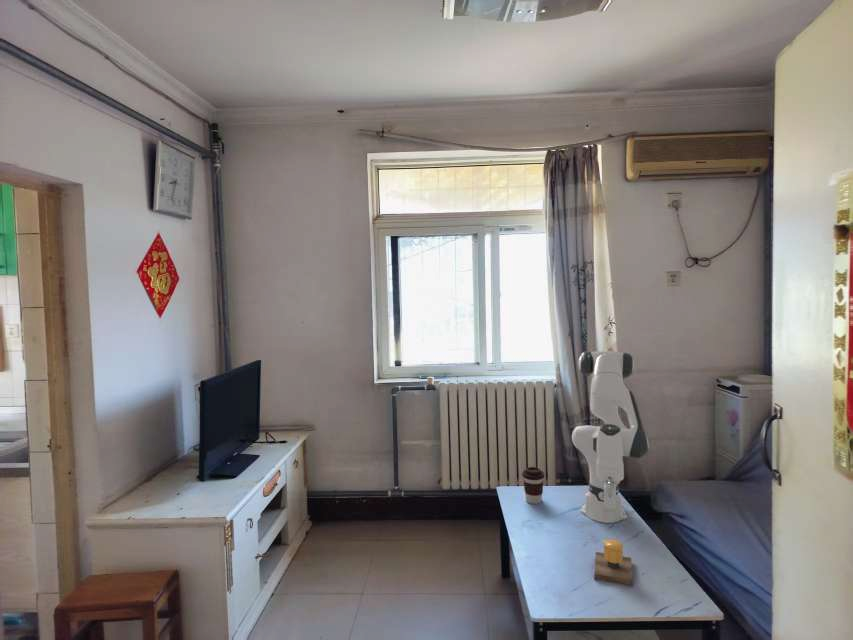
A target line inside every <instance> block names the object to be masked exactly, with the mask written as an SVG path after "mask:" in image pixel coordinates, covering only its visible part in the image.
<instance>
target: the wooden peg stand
mask: <svg viewBox="0 0 853 640" xmlns="http://www.w3.org/2000/svg"><path fill="white" fill-rule="evenodd" d="M594 560H595V561H594V575H593V576H594V577H593V578H594V580H596V581H602V582H607V583H612V584H618V585H624V586H628V587H633V586H634V585H633V580H634V579H633V565H632V563H633V562H632V557H630V556H623V561H622V562H619V563H613V562H609V561H607V560H606V559H604V552H599V551H595V559H594Z"/></svg>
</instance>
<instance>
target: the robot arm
mask: <svg viewBox="0 0 853 640" xmlns="http://www.w3.org/2000/svg"><path fill="white" fill-rule="evenodd" d="M577 362H578V368H579V371H580V373H581V374H582V375H584V376H587V377H590V376H592V378H591V384H590V401H589V402H590V404H589V407H590V408H589V409H590V412H591V414H592V415H593V416H595V417H596V418H598V419H600V420H602V421H603V422H604V424H601V425H600V426H598V425H597V426H596V425H588V424H587V425H580V426H579V425H578V426H575V428H574V429H573V431H572V434H571V441H572V444H573V445H574V447H575V448H576V449H577V450H578V451H579V452H581V454H583V456H584V458H585V459H586V461H587V465H588V469H589V481H588V492H586V493H585V495H584V498H585V499H584V500H585V501H584V504H583V506H582V507H581V509H580V513H581V514H583V515H586V516H587V517H588V518H590V519H592V520H593V521H596V522H600V523H604V524H605V523H607V524H609V523H610V524H611V523H616V522H619V521H621V520H627V519H628V515H627V513H626V511H625V509H624V507H623V499H622V498H621V495H619V490H620V489H619V484H620V482H621V481H623V480H624V478H625V474H624V473H625V472H624V471H625V469H624V467H625V466H624V460H623V457H628V458H634V459H641V458H643V457H644V456H645V455H647V454H648V453H649V445H650V444H649V440H648V437H647V435H646V432H645V429H644V426H643V421H642V418H641V415H640V412H639V408H638V404H637V402H636V398H635V395H634V393H633V392H632V391H631V390H630V389H628V388H627V387H626V386H625V385H626V384H625V383H624V379H627V378H628V377H630V376H631V375H632V374H633V373H634V372H633V371H634V370H635V361H634V358H633V356H632V355H631V354H630V353H627V352H623V351H622V352H618V351H611V350H609V351H608V350H606V351H590V350H588V351H584V352H582V353H581V354H580V356H579V359H578V361H577ZM618 407H619V408H620V409H622V410H624V411H625V412H626V416H627V419H628V423H629V428H627V427H626V425H625V424H624V422H623V421H622V419H621V418H620V415H619V408H618Z"/></svg>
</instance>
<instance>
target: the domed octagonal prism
mask: <svg viewBox="0 0 853 640" xmlns="http://www.w3.org/2000/svg"><path fill="white" fill-rule="evenodd" d="M623 548H624V545H623V543H622V542H620V541H619V540H616V539H610V538H609V539H605V540H604V541H603V553H604V559H606V560H607V561H609V562H613V563H619V562H622V561H623Z"/></svg>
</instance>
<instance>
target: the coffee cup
mask: <svg viewBox="0 0 853 640" xmlns="http://www.w3.org/2000/svg"><path fill="white" fill-rule="evenodd" d="M522 477H523V487H524V488H523V489H524V494H525V495H524V496H525V501H526V502H527V503H529V504H533V505H534V504H535V505H536V504H541V503H542V502H543V501H542V500H543V493H544V492H543V491H544V478H545V472H544V471H543V470H542V469H541V468H539V467H535V466H529V467H526V468H525V469H524V470H522Z"/></svg>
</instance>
